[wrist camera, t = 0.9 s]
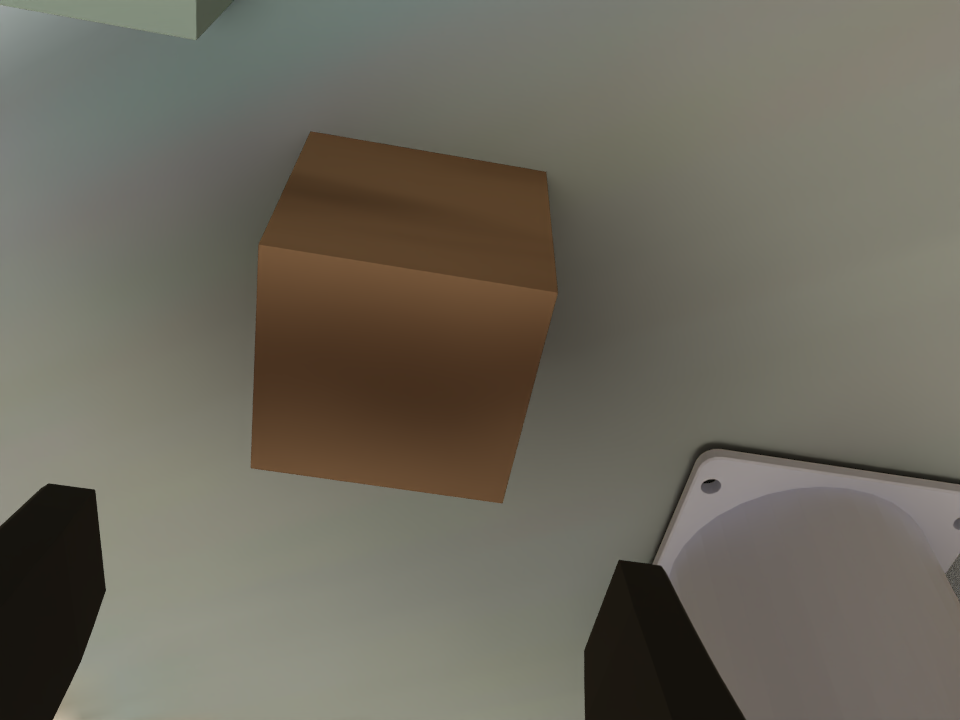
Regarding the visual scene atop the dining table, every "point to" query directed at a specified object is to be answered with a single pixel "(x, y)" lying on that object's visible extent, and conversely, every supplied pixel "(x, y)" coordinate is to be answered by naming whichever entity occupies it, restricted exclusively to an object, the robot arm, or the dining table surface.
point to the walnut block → (400, 318)
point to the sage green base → (136, 13)
